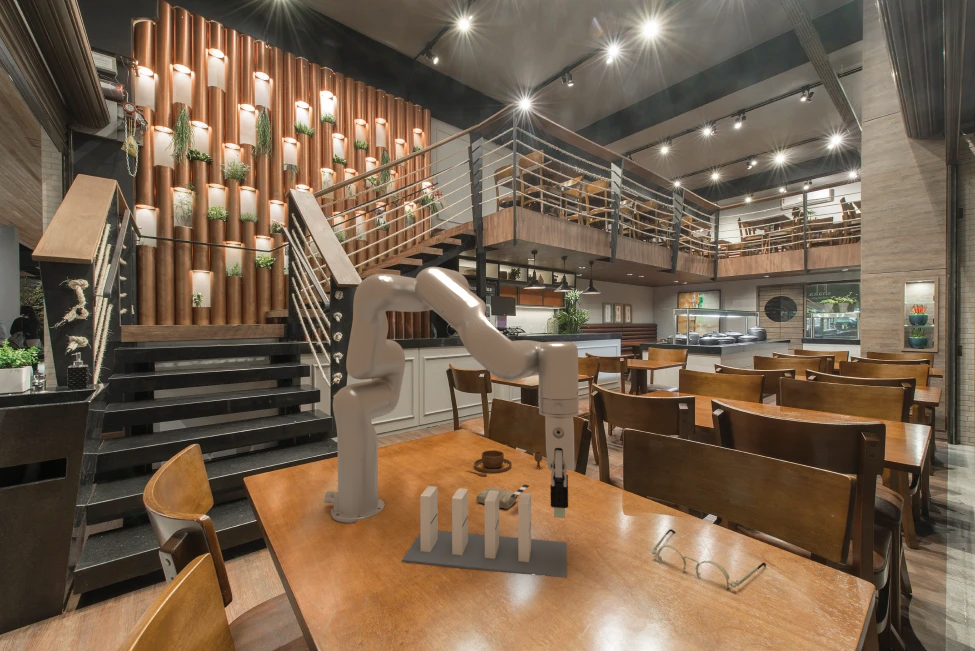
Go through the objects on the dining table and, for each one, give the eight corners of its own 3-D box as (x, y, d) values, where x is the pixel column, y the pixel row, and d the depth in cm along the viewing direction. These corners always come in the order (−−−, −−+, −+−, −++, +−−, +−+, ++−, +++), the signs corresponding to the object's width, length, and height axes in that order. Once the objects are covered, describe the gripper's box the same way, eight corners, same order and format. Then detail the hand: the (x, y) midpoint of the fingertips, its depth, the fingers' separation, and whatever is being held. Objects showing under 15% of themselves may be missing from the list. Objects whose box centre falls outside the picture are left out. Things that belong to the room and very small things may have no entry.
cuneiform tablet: (515, 497, 99) (473, 487, 105) (516, 515, 99) (474, 505, 105) (529, 485, 105) (488, 477, 111) (530, 502, 105) (489, 493, 111)
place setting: (495, 457, 143) (495, 440, 143) (545, 470, 130) (545, 451, 130) (460, 471, 130) (460, 453, 130) (512, 487, 117) (512, 466, 117)
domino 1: (420, 551, 83) (420, 495, 83) (428, 538, 88) (428, 486, 88) (430, 552, 82) (430, 496, 82) (437, 539, 87) (437, 486, 87)
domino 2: (452, 554, 82) (451, 498, 81) (458, 541, 86) (458, 488, 86) (462, 555, 81) (462, 499, 81) (468, 542, 86) (467, 488, 86)
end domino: (565, 506, 82) (564, 451, 82) (565, 518, 77) (564, 459, 77) (554, 506, 83) (553, 450, 83) (553, 517, 78) (553, 458, 78)
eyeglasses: (643, 563, 80) (643, 537, 80) (677, 535, 90) (677, 512, 90) (744, 606, 67) (744, 576, 67) (769, 568, 78) (769, 542, 78)
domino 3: (484, 557, 80) (484, 500, 80) (489, 544, 85) (489, 490, 85) (495, 558, 80) (495, 501, 80) (499, 545, 85) (499, 491, 85)
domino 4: (518, 561, 79) (518, 503, 79) (520, 547, 84) (520, 492, 84) (529, 562, 79) (528, 504, 79) (531, 548, 84) (531, 493, 84)
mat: (401, 561, 80) (401, 559, 80) (422, 531, 92) (422, 529, 92) (566, 579, 74) (566, 577, 74) (566, 544, 86) (566, 542, 86)
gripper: (580, 416, 71) (581, 522, 71) (577, 398, 88) (578, 485, 88) (536, 414, 72) (537, 519, 72) (541, 397, 89) (542, 482, 89)
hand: (559, 499), depth 80 cm, fingers closed on end domino, 4 cm apart
